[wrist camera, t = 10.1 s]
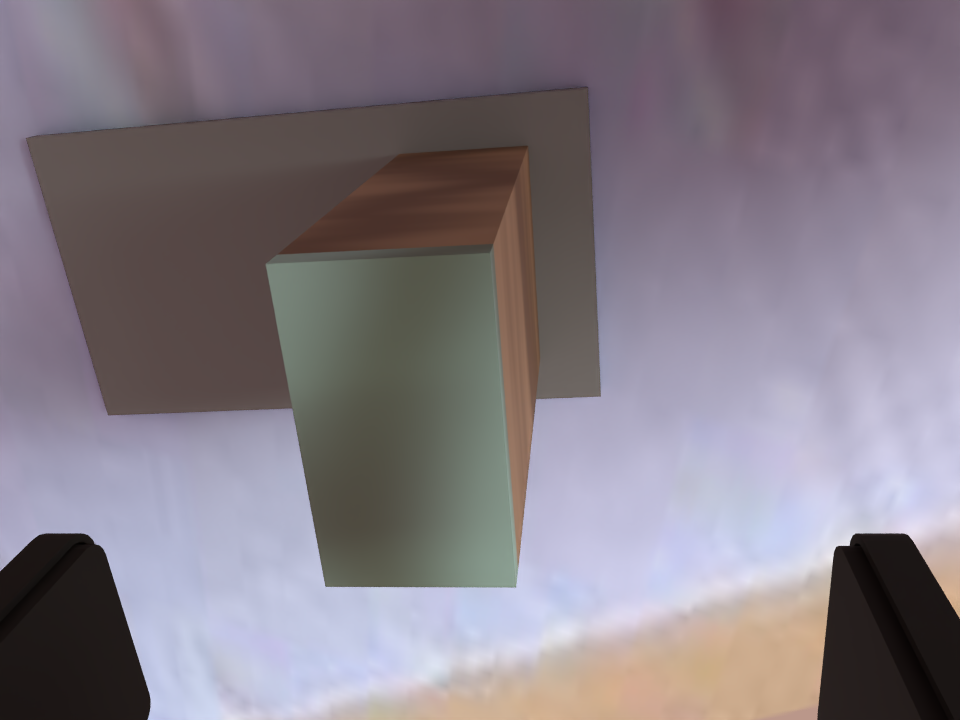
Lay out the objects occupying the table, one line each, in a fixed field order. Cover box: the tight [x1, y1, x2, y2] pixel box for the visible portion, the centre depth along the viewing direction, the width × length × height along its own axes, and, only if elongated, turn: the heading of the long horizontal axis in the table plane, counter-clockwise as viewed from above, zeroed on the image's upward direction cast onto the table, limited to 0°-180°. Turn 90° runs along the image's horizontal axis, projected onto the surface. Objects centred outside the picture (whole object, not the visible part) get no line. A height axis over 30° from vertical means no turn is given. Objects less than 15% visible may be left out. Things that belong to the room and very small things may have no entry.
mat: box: [26, 87, 601, 415], centre depth 28 cm, size 18×10×1 cm, turn 95°
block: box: [266, 146, 540, 587], centre depth 21 cm, size 4×7×12 cm, turn 4°
